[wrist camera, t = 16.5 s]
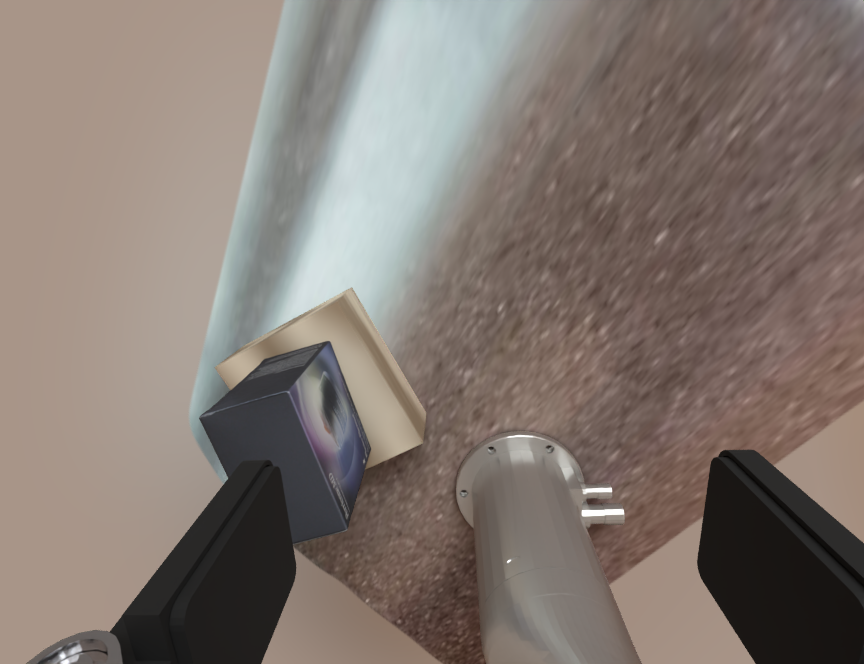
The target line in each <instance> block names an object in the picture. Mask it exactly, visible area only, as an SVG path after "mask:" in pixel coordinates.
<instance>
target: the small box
mask: <svg viewBox="0 0 864 664" xmlns="http://www.w3.org/2000/svg"><path fill="white" fill-rule="evenodd" d="M199 419H200V421H201V423H202V425H203V427H204V429H205V431H206V433H207V435H208V437H209V439H210V441H211V443H212V446H213V448H214V450H215V452H216V454H217V456H218V458H219V460H220V462H221V464H222V466H223V468H224V470H225V472H226V474H227V476H228V478H229V477H230V476H231V475H232V473H233V472H234V471H235V469H236V468H237V467H238V466H239V464H240V463H241V462H242V461H245V460H270V461H271V462H272V464H273V466H278V467H279V468H280V471H281V475H282V482H283V488H284V494H285V500H286V506H287V512H288V518H289V524H290V531H291V537H292V543H293V545H294V544H297V543H301V542H305V541H309V540H313V539H317V538H322V537H325V536H329V535H333V534H337V533H340V532H345V531H347V529H348V525H349V521H350V517H351V514H352V511H353V508H354V504H355V501H356V498H357V494H358V491H359V487H360V484H361V481H362V478H363V474H364V471H365V468H366V464H367V461H368V458H369V455H370V452H371V447H370V444H369V441H368V439H367V436H366V433H365V431H364V428H363V426H362V423H361V420H360V418H359V415H358V412H357V410H356V407H355V405H354V402H353V399H352V397H351V394H350V391H349V389H348V386H347V384H346V381H345V378H344V376H343V373H342V371H341V368H340V365H339V363H338V360H337V358H336V355H335V352H334V350H333V347H332V344H331V342H330V341H325V342H322V343H318V344H314V345H311V346H308V347H304V348H300V349H297V350H294V351H290V352H287V353H284V354H280V355H276V356H273V357H270V358H266V359H264V360H263V361H262V362H261V363H260V365H258V366H257V367H256V368H255V369H254V370H253V371H252V372H250V373H249V374H248V375H247V376H246V377H245V378H244V379H243V380H242V381H241V382H239V383H238V384H237V385H236V386H235V387H234V388H233V389H232V390H230V391H229V392H228V393H227V394H226V395H225V397H223V398H222V399H221V400H220V401H219V402H217V403H216V404H215V405H213V406H212V407H211V408H210V409H209V410H208V411H206V412H205V413H203V414H202V415H201V416H200V417H199Z"/></svg>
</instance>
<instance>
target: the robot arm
mask: <svg viewBox="0 0 864 664" xmlns="http://www.w3.org/2000/svg"><path fill="white" fill-rule="evenodd" d="M548 445H549V446H548ZM490 447H491V448H490ZM456 497H457V503H458V506H459V509H460V512H461V513H462V515H463V517H464V518H465V520H466V521H467V522H468V523H469V525H470V526H471V527H472V528H473V529H474V539H475V555H476V571H477V586H478V602H479V618H480V632H481V643H482V650H483V654H484V657H485V661H486V664H642V663H641V661H640V659H639V656H638V654H637V652H636V650H635V647H634V645H633V643H632V640H631V638H630V635H629V633H628V631H627V628H626V626H625V623H624V621H623V618H622V616H621V613H620V611H619V608H618V606H617V603H616V601H615V599H614V596H613V594H612V591H611V589H610V586H609V584H608V581H607V579H606V576H605V574H604V571H603V569H602V566H601V563H600V561H599V558H598V556H597V553H596V551H595V548H594V546H593V543H592V541H591V538H590V536H589V533H588V531H587V528H590V524H603V525H623V524H624V521H625V516H624V510H623V507H622V505H621V504H620V503H601V504H590V505H588V503H587V501H586V500H587V499H592V498H597V499H611V498H612V489H611V486H610V484H609V483H607V484H592V485H585V483H584V477H583V475H582V472H581V469H580V467H579V465H578V463H577V461H576V459H575V457H574V456H573V455H572V454H571V452H570V451H569V450H568V449H567V448H566V447H565V446H563V445H562V444H561V443H560V442H558V441H556V440H554V439H553V438H551V437H549V436H546V435H543V434H540V433H535V432H529V431H512V432H507V433H502V434H498V435H496V436H493V437H491V438H488V439H487V440H485V441H483V442H482V443H480V444H478V445H477V446H476V447H475V448H474V449H473V450H472V451H471V452H470V453H469V454H468V455H467V457H466V458H465V459H464V461H463V462H462V464H461V467H460V469H459V471H458V475H457V479H456ZM697 564H698V570H699V573H700V576H701V579H702V580H703V582H704V584H705V585H706V587H707V588H708V590H709V592H710V593H711V594H712V596H713V598H714V599H715V601H716V602H717V604H718V605H719V607H720V609H721V610H722V611H723V613H724V615H725V616H726V618H727V620H728V621H729V623H730V624H731V626H732V627H733V629H734V630H735V632H736V634H737V635H738V637H739V638H740V640H741V641H742V643H743V645H744V646H745V648H746V649H747V651H748V652H749V654H750V655H751V657H752V658H753V660H754V662H755V663H756V664H864V543H863V542H861V541H860V540H859V539H858V538H857V537H856V536H855V535H853V534H852V533H851V532H850V531H849V530H847V529H846V528H845V527H844V526H843V525H841V524H840V523H839V522H838V521H837V520H836V519H835V518H834V517H832V516H831V515H830V514H829V513H828V512H826V511H825V510H824V509H823V508H822V507H821V506H820V505H818V504H817V503H816V502H815V501H814V500H812V499H811V498H810V497H809V496H808V495H807V494H806V493H804V492H803V491H802V490H801V489H800V488H798V487H797V486H796V485H795V484H794V483H793V482H791V481H790V480H789V479H788V478H787V477H786V476H784V475H783V474H782V473H781V472H780V471H779V470H777V469H776V468H775V467H774V466H773V465H772V464H771V463H769V462H768V461H767V460H766V459H765V458H764V457H762V456H761V455H760V454H759V453H758V452H756V451H754V450H724V451H722V452H721V453H720V454H719V457H715V458H713V460H712V461H711V466H710V473H709V480H708V487H707V495H706V502H705V509H704V516H703V523H702V531H701V538H700V545H699V552H698V560H697ZM295 575H296V561H295V555H294V549H293V543H292V537H291V531H290V524H289V518H288V512H287V506H286V500H285V494H284V488H283V482H282V475H281V471H280V468H279V467H278V466H273V464H272V462H271V461H270V460H245V461H242V462H241V463H240V464H239V466H238V467H237V468H236V469H235V471H234V472H233V473H232V475H231V476H230V477H229V478H228V480H227V481H226V482H225V484H224V485H223V486H222V487H221V489H220V490H219V491H218V493H217V494H216V495H215V497H214V498H213V499H212V500H211V502H210V503H209V504H208V505H207V507H206V508H205V509H204V511H203V512H202V513H201V515H200V516H199V517H198V519H197V520H196V521H195V522H194V523H193V525H192V526H191V527H190V529H189V530H188V531H187V533H186V534H185V535H184V536H183V538H182V539H181V540H180V542H179V543H178V544H177V545H176V547H175V548H174V550H172V552H171V553H170V554H169V556H168V557H167V558H166V560H165V561H164V562H163V563H162V565H161V566H160V567H159V568H158V570H157V571H156V572H155V574H154V575H153V576H152V577H151V579H150V580H149V581H148V583H147V584H146V585H145V587H144V588H143V589H142V590H141V592H140V593H139V594H138V596H137V597H136V598H135V599H134V601H133V602H132V603H131V605H130V606H129V607H128V608H127V610H126V611H125V612H124V614H123V615H122V617H121V618H120V619H119V621H118V622H117V623H116V624H115V626H114V627H113V628H112V630H111V631H110V632H108V631H100V630H93V631H87V632H82V633H78V634H76V635H73V636H70V637H68V638H65V639H62V640H60V641H59V642H57V643H55V644H53V645H52V646H50V647H48V648H46V649H45V650H43V651H42V652H40V653H39V654H38V655H37V656H35V657H34V658H33V659H31V660H30V661H29V662H27V663H26V664H261V663H262V660H263V657H264V655H265V652H266V650H267V648H268V645H269V643H270V640H271V638H272V635H273V633H274V630H275V628H276V625H277V623H278V620H279V618H280V616H281V613H282V611H283V608H284V606H285V603H286V601H287V598H288V596H289V593H290V591H291V588H292V586H293V583H294V580H295Z"/></svg>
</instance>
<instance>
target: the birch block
mask: <svg viewBox="0 0 864 664" xmlns="http://www.w3.org/2000/svg"><path fill="white" fill-rule="evenodd" d="M325 341H330V342H331V344H332V347H333V350H334V352H335V355H336V358H337V360H338V363H339V365H340V368H341V371H342V373H343V376H344V378H345V381H346V384H347V386H348V389H349V391H350V394H351V397H352V399H353V402H354V405H355V407H356V410H357V412H358V415H359V418H360V420H361V423H362V426H363V428H364V431H365V433H366V436H367V439H368V441H369V444H370V447H371V452H370V455H369V458H368V461H367V464H366V468H365V470H366V469H368V468H370V467H372V466H375V465H377V464H379V463H381V462H383V461H385V460H388V459H390V458H392V457H394V456H396V455H398V454H401V453H403V452H405V451H407V450H409V449H411V448H414V447H416V446H418V445H420V444H422V443H423V438H424V430H425V421H426V412H425V410H424V408H423V407H422V405H421V403H420V402H419V400H418V398H417V397H416V395H415V393H414V392H413V390H412V388H411V386H410V385H409V383H408V381H407V380H406V378H405V376H404V375H403V373H402V371H401V370H400V368H399V366H398V364H397V363H396V361H395V359H394V358H393V356H392V354H391V353H390V351H389V349H388V348H387V346H386V344H385V342H384V341H383V339H382V337H381V336H380V334H379V332H378V331H377V329H376V327H375V326H374V324H373V322H372V320H371V319H370V317H369V315H368V314H367V312H366V310H365V309H364V307H363V305H362V304H361V302H360V300H359V299H358V297H357V295H356V293H355V292H354V290H353V288H350V289H348V290H346V291H344V292H342V293H340V294H339V295H337V296H335V297H333V298H331V299H329V300H328V301H326V302H324V303H322V304H320V305H318V306H316V307H315V308H313V309H311V310H309V311H307V312H305V313H304V314H302V315H300V316H298V317H296V318H294V319H292V320H291V321H289V322H287V323H285V324H283V325H281V326H280V327H278V328H276V329H274V330H272V331H270V332H268V333H267V334H265V335H263V336H261V337H259V338H257V339H256V340H254V341H252V342H250V343H248V344H246V345H244V346H243V347H242V348H240V349H239V350H238V351H236V352H235V353H233V354H232V355H231V356H229V357H228V358H227V359H225V360H224V361H223V362H221V363H220V364H219V365H217V366H216V367H215V369H216V370H217V372H218V373H219V375H220V376H221V377H222V379H223V380H224V382H225V383H226V385H227V386H228V387H229V389H230V390H232V389H233V388H234V387H235V386H236V385H237V384H238V383H239V382H241V381H242V380H243V379H244V378H245V377H246V376H247V375H248V374H249V373H250V372H252V371H253V370H254V369H255V368H256V367H257V366H258V365H260V363H261V362H262V361H263V360H264V359H266V358H270V357H273V356H276V355H280V354H284V353H287V352H290V351H294V350H297V349H300V348H304V347H308V346H311V345H314V344H318V343H322V342H325Z"/></svg>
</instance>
